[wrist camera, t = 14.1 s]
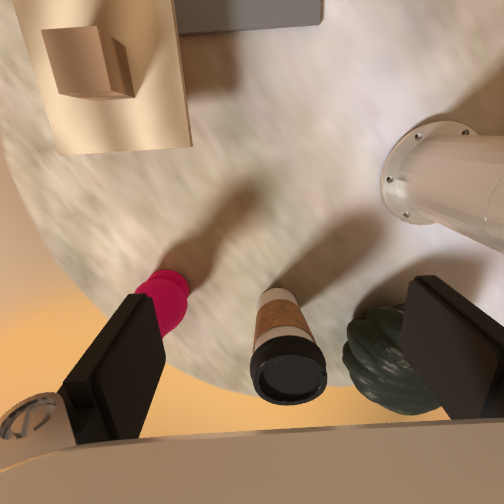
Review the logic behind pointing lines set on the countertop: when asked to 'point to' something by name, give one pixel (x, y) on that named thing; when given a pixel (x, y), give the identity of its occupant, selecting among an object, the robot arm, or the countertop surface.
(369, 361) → the squash
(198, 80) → the countertop surface
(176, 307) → the pepper mill
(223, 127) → the countertop surface
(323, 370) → the coffee cup
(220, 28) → the tray
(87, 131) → the lid
